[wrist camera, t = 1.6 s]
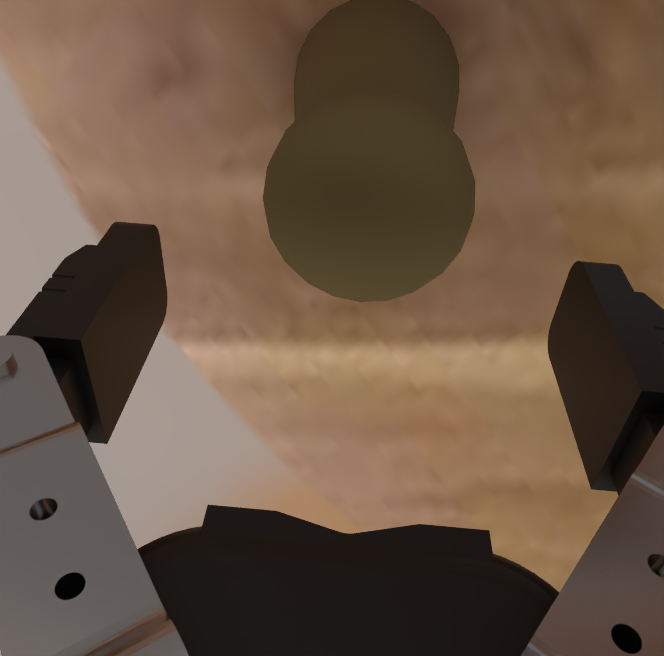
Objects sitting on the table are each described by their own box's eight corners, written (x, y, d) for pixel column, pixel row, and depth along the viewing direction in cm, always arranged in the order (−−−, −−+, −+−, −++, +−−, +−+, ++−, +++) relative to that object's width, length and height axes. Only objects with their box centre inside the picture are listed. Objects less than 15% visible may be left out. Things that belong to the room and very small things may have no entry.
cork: (261, 60, 22) (178, 195, 14) (407, -46, 20) (418, 37, 11) (351, 191, 25) (329, 371, 17) (487, 113, 23) (546, 274, 14)
